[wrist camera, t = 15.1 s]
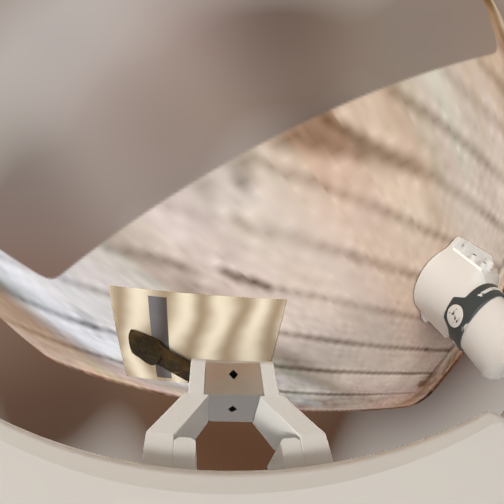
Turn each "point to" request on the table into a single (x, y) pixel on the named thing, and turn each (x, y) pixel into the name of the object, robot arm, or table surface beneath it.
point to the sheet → (195, 327)
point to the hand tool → (158, 354)
